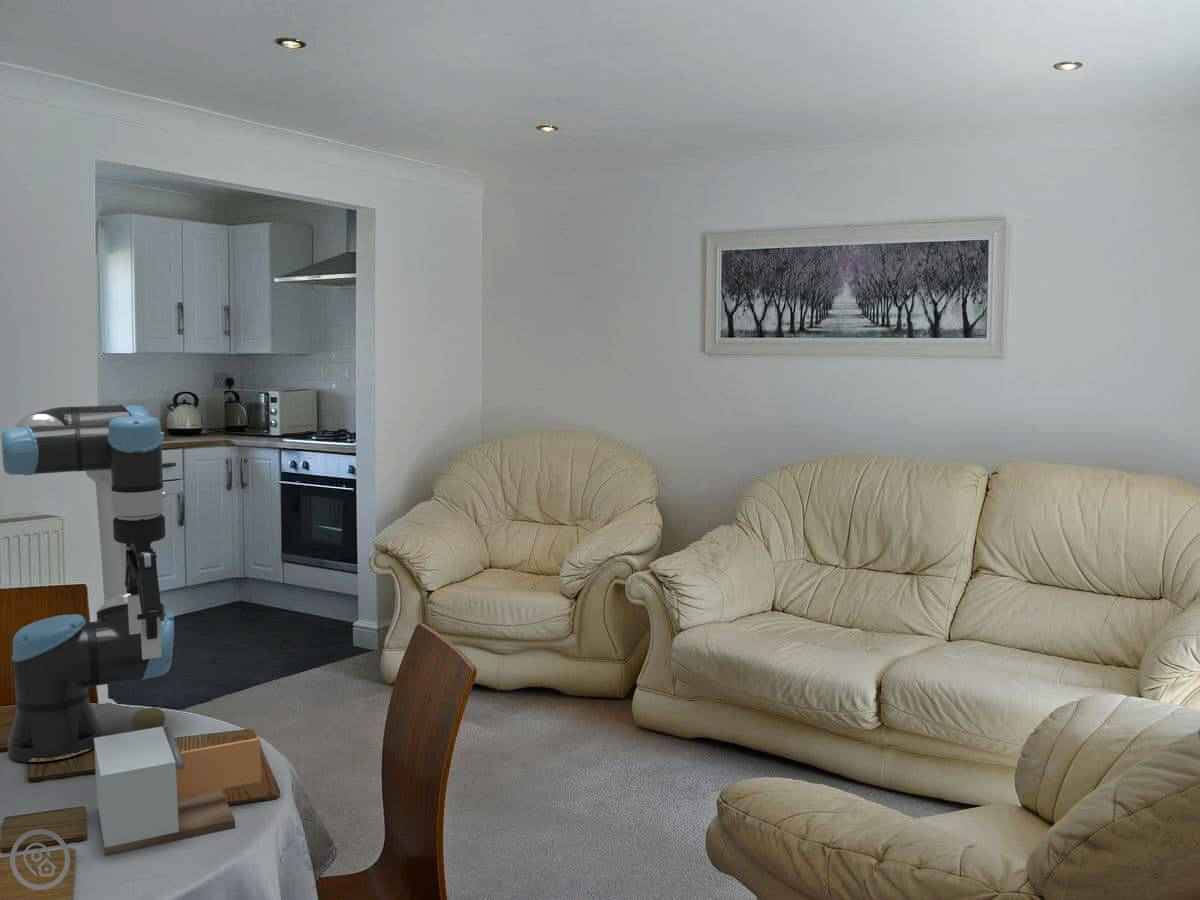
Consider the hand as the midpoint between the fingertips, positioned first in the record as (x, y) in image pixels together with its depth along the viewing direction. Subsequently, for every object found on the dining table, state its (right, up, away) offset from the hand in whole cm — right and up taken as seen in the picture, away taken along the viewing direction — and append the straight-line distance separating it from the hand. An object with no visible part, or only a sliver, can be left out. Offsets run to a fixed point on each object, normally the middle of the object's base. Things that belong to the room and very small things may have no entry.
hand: (144, 645), depth 169 cm
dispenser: (+3, -25, -7) cm, 26 cm away
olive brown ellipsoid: (-4, -24, +12) cm, 27 cm away
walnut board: (+6, -26, -6) cm, 27 cm away
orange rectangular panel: (+11, -22, -3) cm, 25 cm away
